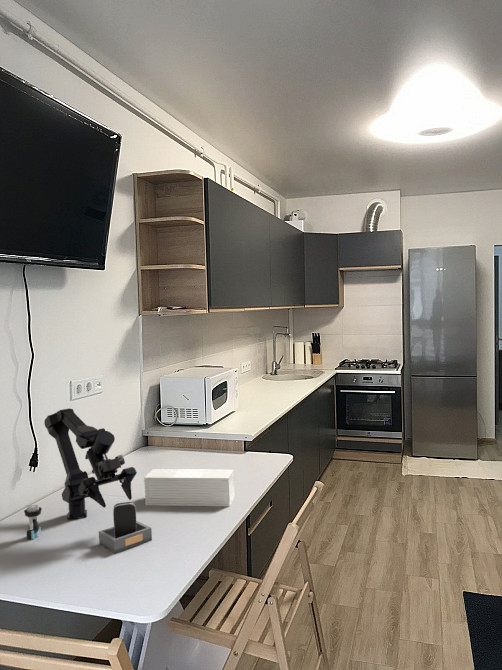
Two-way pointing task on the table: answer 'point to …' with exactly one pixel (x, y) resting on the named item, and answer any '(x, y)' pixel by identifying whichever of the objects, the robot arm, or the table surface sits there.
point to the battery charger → (124, 519)
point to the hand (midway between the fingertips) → (118, 503)
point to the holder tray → (125, 538)
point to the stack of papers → (189, 487)
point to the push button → (33, 521)
